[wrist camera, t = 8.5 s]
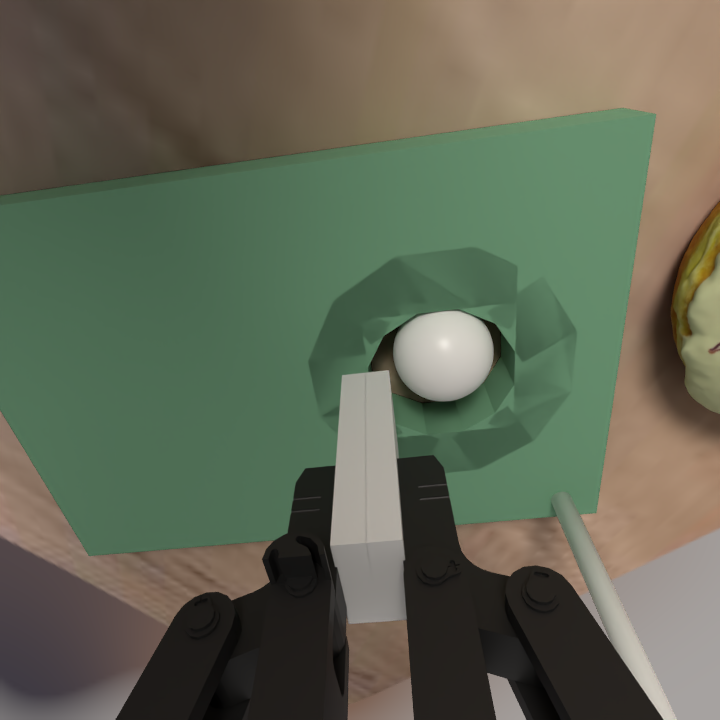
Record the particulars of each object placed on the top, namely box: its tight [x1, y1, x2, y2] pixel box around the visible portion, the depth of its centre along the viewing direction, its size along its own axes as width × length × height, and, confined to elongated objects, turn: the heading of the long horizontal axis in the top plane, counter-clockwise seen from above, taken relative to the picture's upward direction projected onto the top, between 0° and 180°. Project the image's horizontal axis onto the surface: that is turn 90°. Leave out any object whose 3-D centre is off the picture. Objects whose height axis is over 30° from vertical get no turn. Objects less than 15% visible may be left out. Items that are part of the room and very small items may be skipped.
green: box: [0, 108, 677, 720], centre depth 14 cm, size 15×22×14 cm
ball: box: [393, 309, 494, 401], centre depth 17 cm, size 3×3×3 cm
